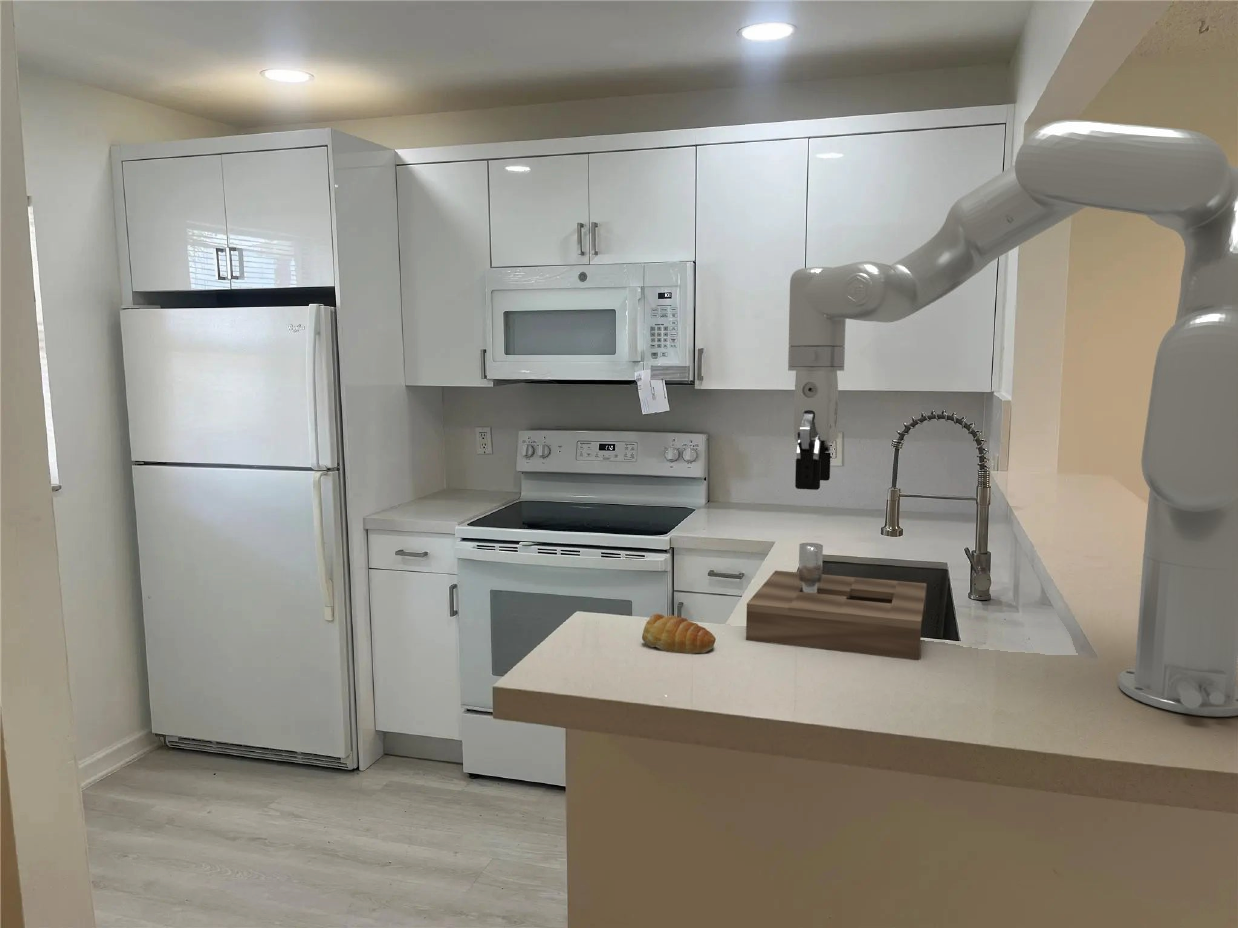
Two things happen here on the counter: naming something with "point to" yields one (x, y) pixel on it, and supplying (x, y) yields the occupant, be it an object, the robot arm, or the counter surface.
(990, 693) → the counter surface
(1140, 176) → the robot arm
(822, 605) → the keyhole plate
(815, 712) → the counter surface
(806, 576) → the keyhole bolt
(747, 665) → the counter surface
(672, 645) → the pastry
